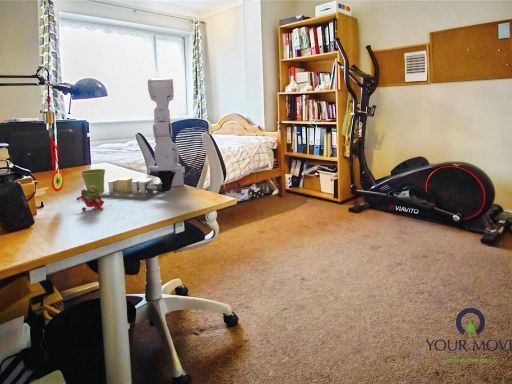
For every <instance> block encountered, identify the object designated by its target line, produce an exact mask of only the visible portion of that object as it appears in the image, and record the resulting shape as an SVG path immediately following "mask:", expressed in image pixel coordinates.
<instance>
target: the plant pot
mask: <svg viewBox="0 0 512 384" xmlns="http://www.w3.org/2000/svg"><path fill="white" fill-rule="evenodd" d="M79 173H80V175H81V176H82V178H83V181H84V185H85V188H86V190H88V187H89V186H91V185H95V186H97V187H98V188H99V191H100V193H101V194H102V192H104V191H105V175H106V169H105V168H95V169H93V168H92V169H87V170H82V171H80V172H79Z"/></svg>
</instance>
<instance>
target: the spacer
mask: <svg viewBox="0 0 512 384" xmlns="http://www.w3.org/2000/svg"><path fill="white" fill-rule="evenodd" d="M117 179H118V178H117ZM131 181H134V180H133V177H122V178H120V179H118V180H117V183H118V191H119V192H122V193H128V192H131V191H132V183H131Z"/></svg>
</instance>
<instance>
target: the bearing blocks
mask: <svg viewBox="0 0 512 384" xmlns="http://www.w3.org/2000/svg"><path fill="white" fill-rule="evenodd" d="M118 179H121V178H116V179H112V180H111V179H110V180H109V181H107V184H108V192H110V193H114V192H117V191H118V183H117V180H118ZM131 183H132V192H133V194H139V189H140V194H146V183H149V184H154V183H153V178H137V179H135V180H133V181H131ZM138 183H139V187H138ZM151 192H152V191H151Z"/></svg>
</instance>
